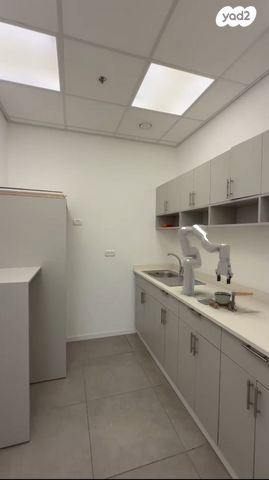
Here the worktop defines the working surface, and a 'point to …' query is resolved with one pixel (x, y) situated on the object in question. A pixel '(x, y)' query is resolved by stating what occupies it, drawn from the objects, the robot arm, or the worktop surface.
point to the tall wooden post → (241, 293)
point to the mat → (206, 301)
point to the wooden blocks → (225, 306)
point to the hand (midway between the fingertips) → (223, 282)
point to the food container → (222, 298)
